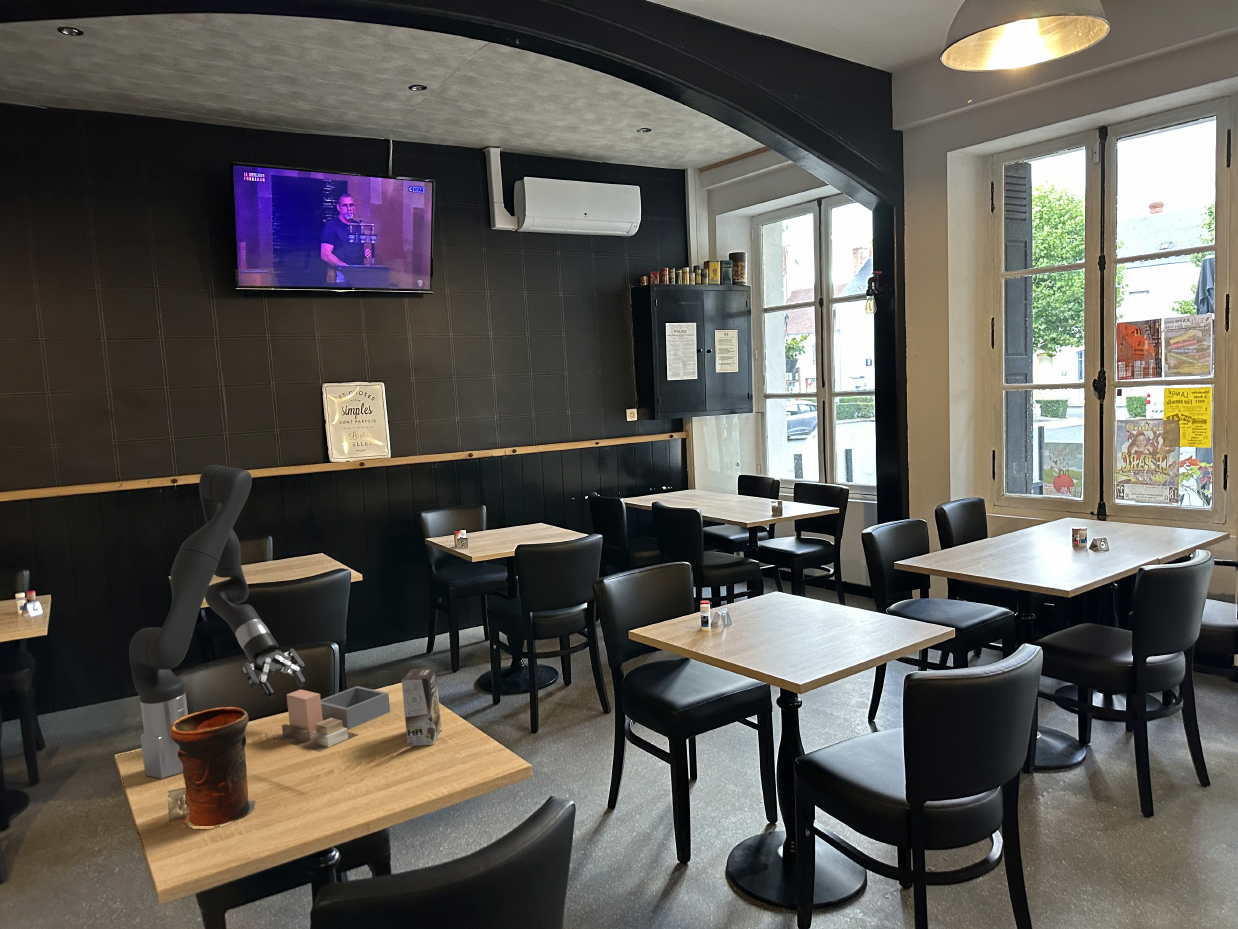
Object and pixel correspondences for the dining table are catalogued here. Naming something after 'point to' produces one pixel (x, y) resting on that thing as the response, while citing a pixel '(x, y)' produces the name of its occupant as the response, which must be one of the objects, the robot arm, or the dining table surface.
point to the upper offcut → (329, 726)
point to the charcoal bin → (355, 706)
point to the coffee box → (421, 706)
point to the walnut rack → (303, 738)
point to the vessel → (214, 765)
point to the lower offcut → (330, 737)
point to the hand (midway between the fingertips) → (287, 690)
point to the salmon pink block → (304, 710)
